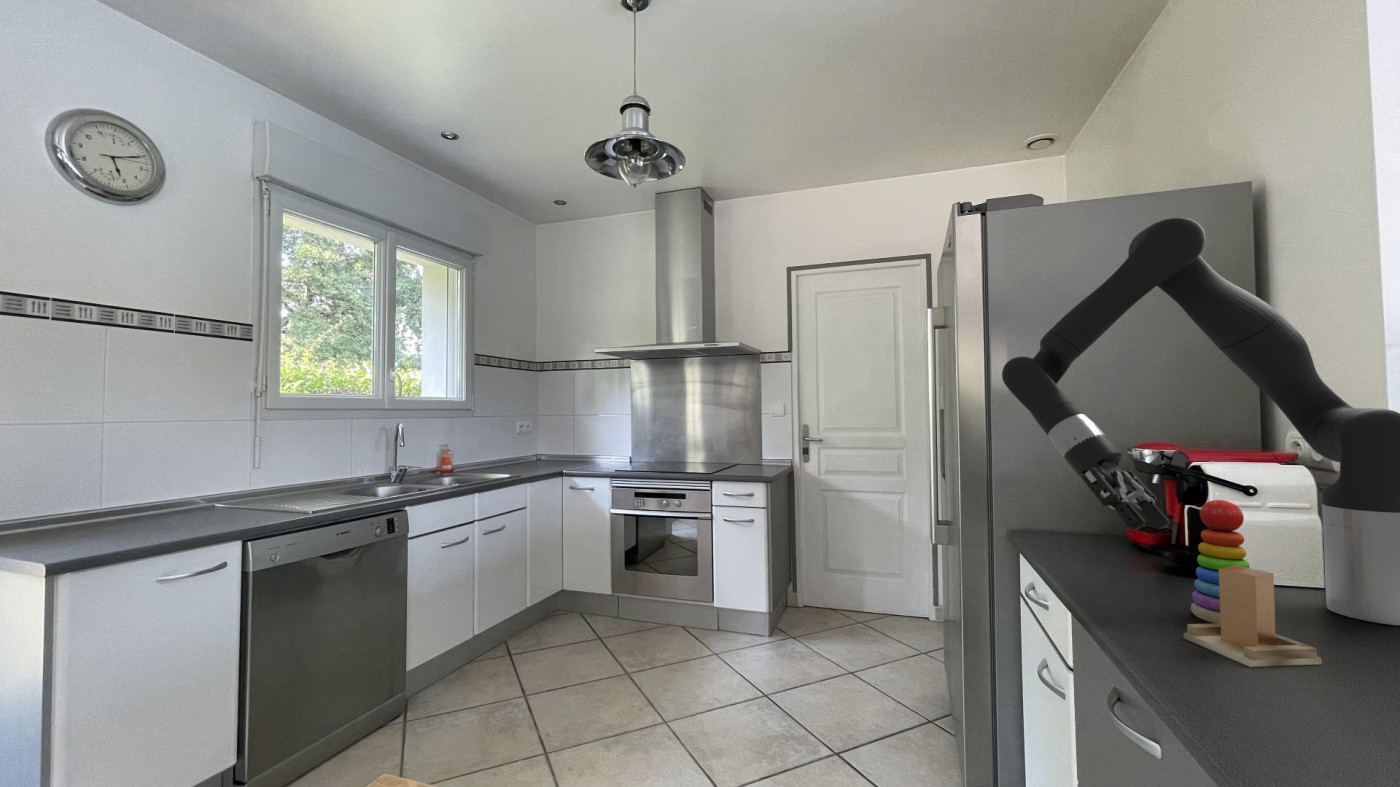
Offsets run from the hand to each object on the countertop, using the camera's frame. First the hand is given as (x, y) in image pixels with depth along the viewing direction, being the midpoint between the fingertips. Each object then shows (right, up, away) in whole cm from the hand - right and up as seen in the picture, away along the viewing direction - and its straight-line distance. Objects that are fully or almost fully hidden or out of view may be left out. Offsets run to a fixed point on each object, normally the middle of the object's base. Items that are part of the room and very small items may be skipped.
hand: (1152, 527), depth 89 cm
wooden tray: (+3, -14, -13) cm, 19 cm away
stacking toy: (+10, -14, -2) cm, 18 cm away
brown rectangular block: (+3, -13, -13) cm, 19 cm away
